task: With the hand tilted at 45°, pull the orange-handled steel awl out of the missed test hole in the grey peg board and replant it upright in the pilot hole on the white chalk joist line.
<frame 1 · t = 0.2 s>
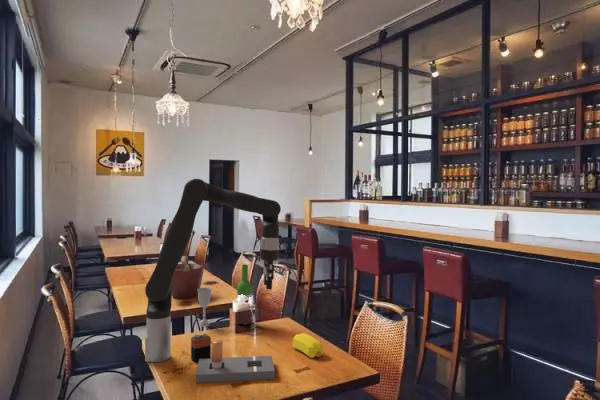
hand: (267, 287, 177), 28 cm above the table, tool pointing down, fingers open, 8 cm apart
grey peg board: (235, 372, 159), on the table
wine bottle: (244, 323, 216), on the table
chalice: (204, 325, 213), on the table
bucket: (184, 296, 269), on the table
battery: (200, 359, 171), on the table
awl: (216, 373, 158), resting in grey peg board
yellow faceted prism: (307, 352, 181), on the table
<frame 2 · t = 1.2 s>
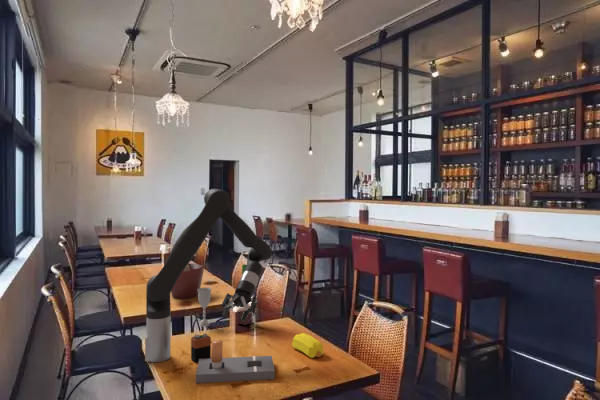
hand: (233, 319, 169), 17 cm above the table, tool tilted 45°, fingers open, 8 cm apart
nothing on the table moved.
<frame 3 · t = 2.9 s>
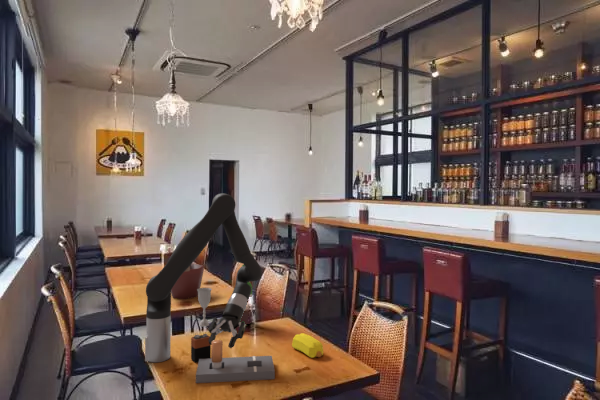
hand: (220, 345, 160), 10 cm above the table, tool tilted 45°, fingers open, 8 cm apart
nothing on the table moved.
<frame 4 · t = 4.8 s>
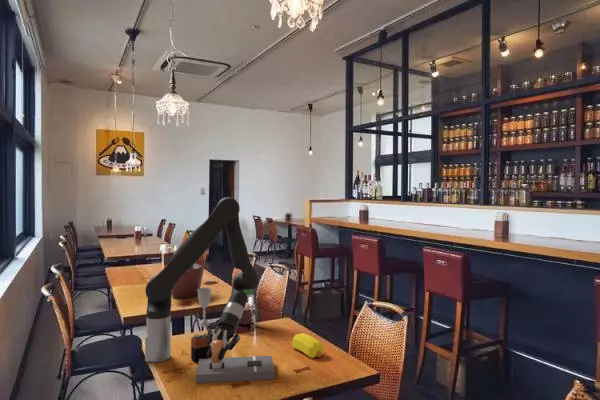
hand: (214, 358, 156), 7 cm above the table, tool tilted 45°, fingers closed on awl, 4 cm apart
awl: (216, 373, 158), resting in grey peg board, touching gripper
everything else where it was.
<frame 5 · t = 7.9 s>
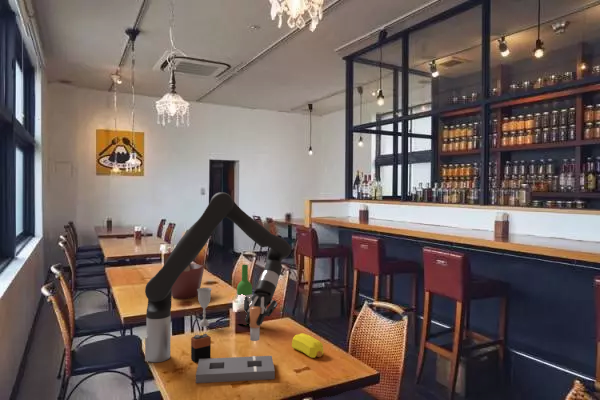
hand: (252, 323, 158), 19 cm above the table, tool tilted 45°, fingers closed on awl, 4 cm apart
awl: (254, 339, 160), point 12 cm above the table, touching gripper
everything else where it was.
when the fingers open (7 cm above the table, at t = 10.8 s): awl stays where it is, resting in grey peg board.
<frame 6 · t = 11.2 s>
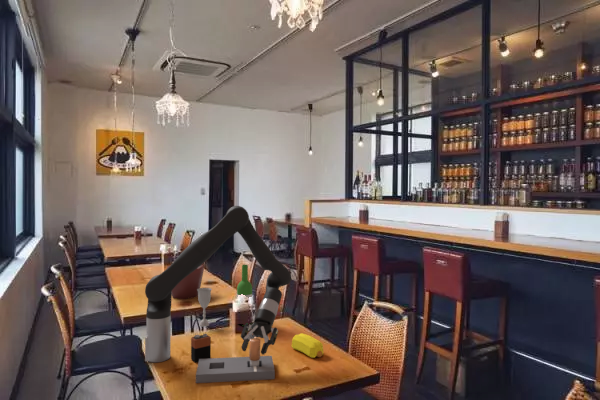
hand: (252, 352, 159), 8 cm above the table, tool tilted 45°, fingers open, 7 cm apart
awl: (254, 371, 161), resting in grey peg board
everything else where it was.
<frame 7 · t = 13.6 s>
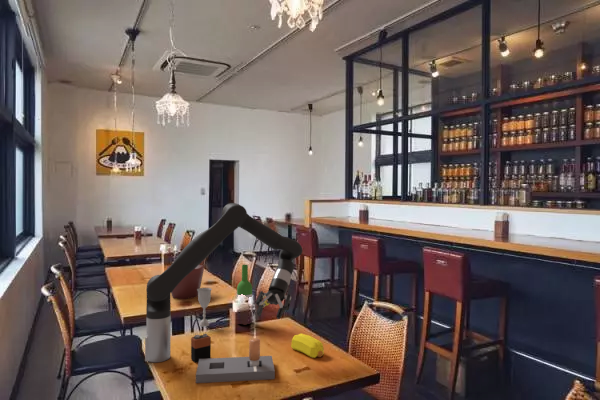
hand: (268, 316, 170), 18 cm above the table, tool tilted 45°, fingers open, 8 cm apart
nothing on the table moved.
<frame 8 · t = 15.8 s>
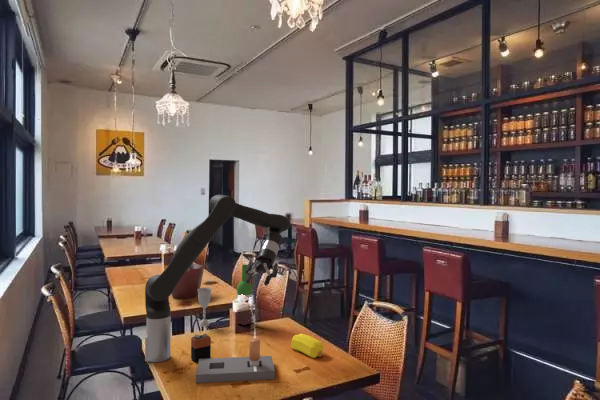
hand: (256, 283, 180), 29 cm above the table, tool tilted 45°, fingers open, 8 cm apart
nothing on the table moved.
at the end: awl 0.1 cm from the target spot on the grey peg board, point 0.0 cm above the grey peg board's base; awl tilted 0°; the gripper is holding nothing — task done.
